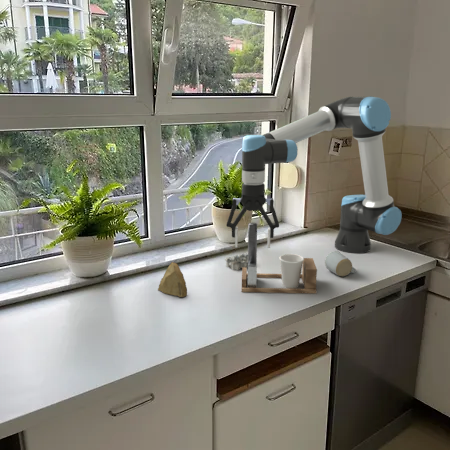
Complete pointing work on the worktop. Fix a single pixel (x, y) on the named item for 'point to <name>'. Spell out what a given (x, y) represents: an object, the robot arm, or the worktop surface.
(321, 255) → the worktop surface
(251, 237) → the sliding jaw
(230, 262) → the egg carton
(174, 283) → the rock
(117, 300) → the worktop surface
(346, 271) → the ceramic mug
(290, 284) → the dixie cup
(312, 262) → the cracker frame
